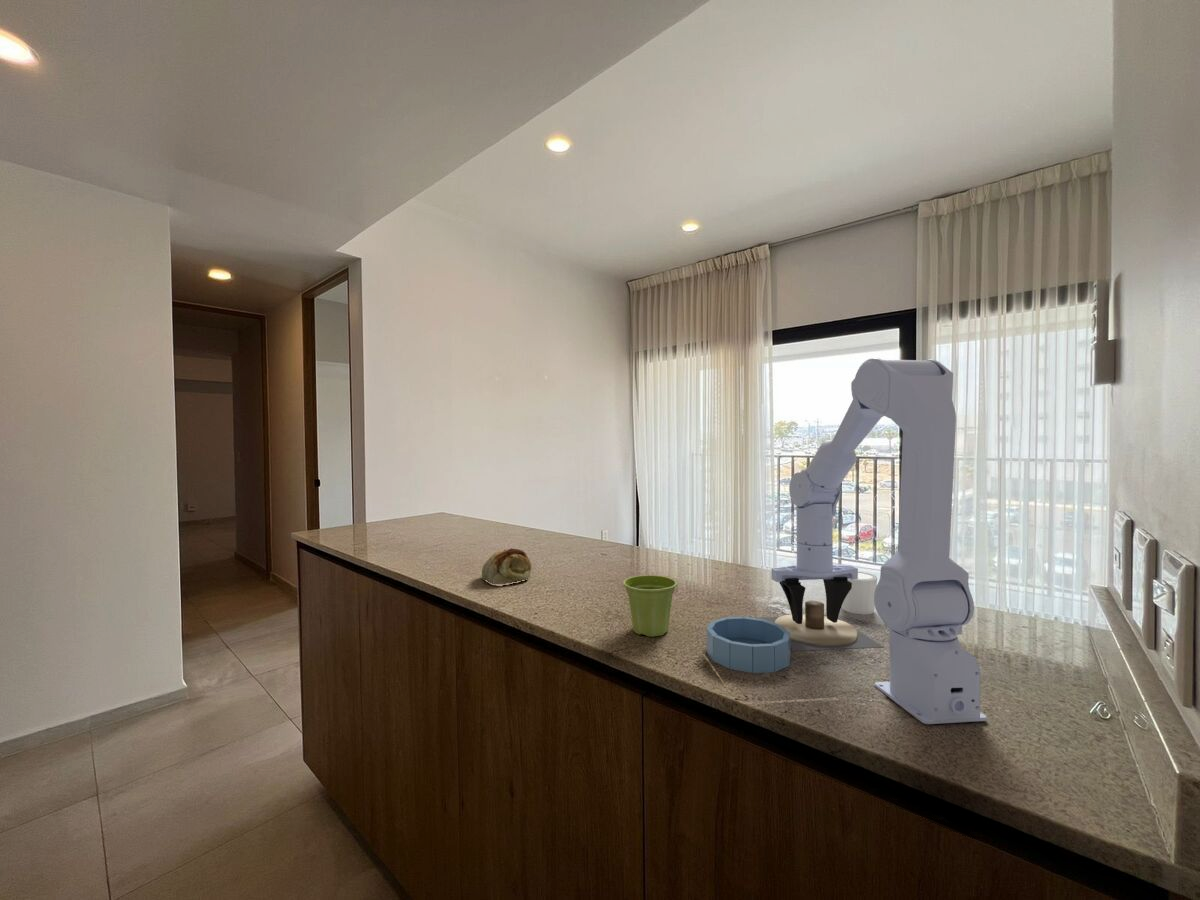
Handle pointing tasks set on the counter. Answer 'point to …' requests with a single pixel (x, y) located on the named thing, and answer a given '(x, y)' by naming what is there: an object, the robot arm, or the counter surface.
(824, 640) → the lid
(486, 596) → the counter surface
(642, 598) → the plant pot
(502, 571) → the pastry
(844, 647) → the mat
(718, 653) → the bowl
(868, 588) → the white cup
